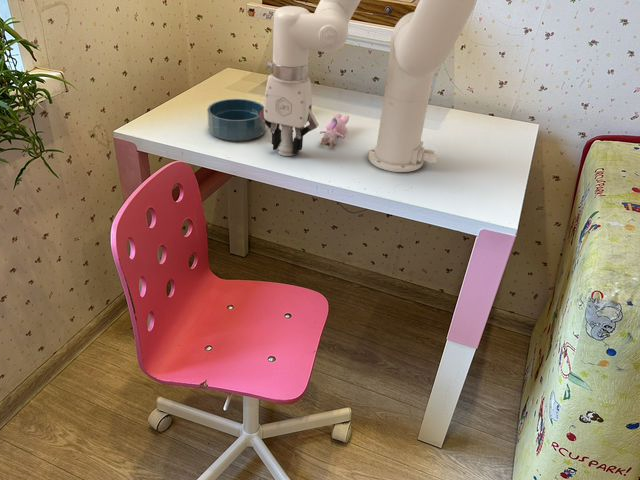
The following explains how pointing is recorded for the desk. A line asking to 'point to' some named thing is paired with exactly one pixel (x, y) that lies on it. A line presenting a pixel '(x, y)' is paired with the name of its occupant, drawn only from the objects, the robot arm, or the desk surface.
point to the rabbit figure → (334, 129)
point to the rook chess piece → (286, 141)
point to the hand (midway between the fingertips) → (286, 149)
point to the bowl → (235, 119)
